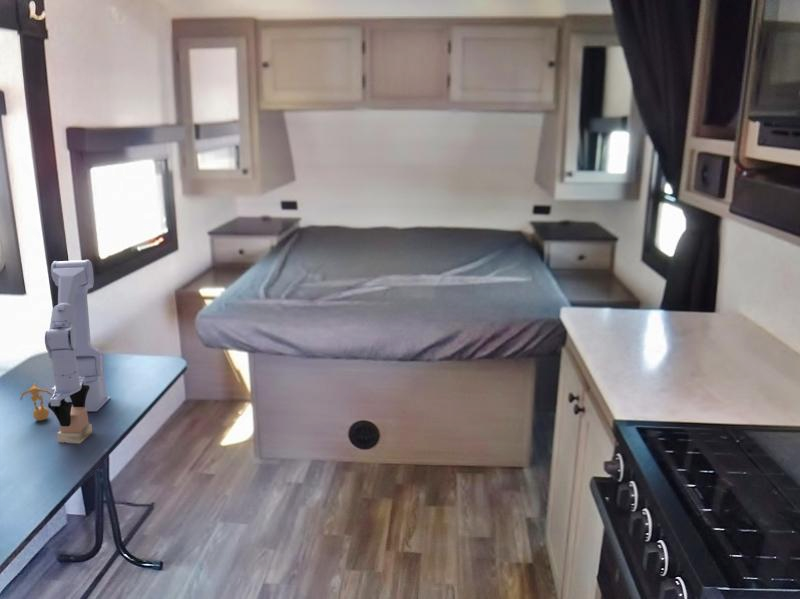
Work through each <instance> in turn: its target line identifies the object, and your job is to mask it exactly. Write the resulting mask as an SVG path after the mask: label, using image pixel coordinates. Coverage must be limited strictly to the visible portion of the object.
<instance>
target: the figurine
mask: <svg viewBox="0 0 800 599" xmlns="http://www.w3.org/2000/svg"><path fill="white" fill-rule="evenodd" d="M40 392H42V393H47V394H49V395H50V396H52V397H53V394H52V393H51V392H49V390H47V389H42V388H39V387H38V385H37V384H36V383H32V386H31V388H30V389H27V390H25V391H24V392H22V393H21V396H20V398H19V399H20V400H19V401H20V402H22V401H23V397H24V395H26V394H29V393H30V394H31V395H32V396H30V398H31V401H33V405H34V407H35V409H34V410H33V411H32V417H33V418H34V419H35V420H36V421H40V422H42V421H45V420H46V419H48V417H49V416H50V411H49V409H48V407H46V406H43V404H44V402H43V401H44V398H43V396H42V395H41V394H40ZM37 400H38V401H40V403H39V404H40V405H39V406H38V405H37Z"/></svg>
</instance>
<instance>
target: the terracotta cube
mask: <svg viewBox="0 0 800 599" xmlns="http://www.w3.org/2000/svg"><path fill="white" fill-rule="evenodd" d="M70 416H71V423H70V426H61V425H60V424H59V426H60V427H59V428H60V430H61V433H72V432H81V431H82V430H83V429H84V428H85V427H86V426H87V425H88V424H90V423H89V417H88V411H87V408H86V407H73V406H72V407H71V413H70Z"/></svg>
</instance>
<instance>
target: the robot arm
mask: <svg viewBox="0 0 800 599" xmlns="http://www.w3.org/2000/svg"><path fill="white" fill-rule="evenodd" d="M50 273H51V274H50V275H51V278H52V281H53V282H54V285H55V286H56V287H57V288H58V289H57V291H58V292H57V305H55V306H54V307H52V310H51V318H50V323H49V324H50V325H49V330H46V331H45V333H44V345H45V348H46V351H47V355H48V358H49V359H50V361H51V365H52V373H53V380H54V386H53V387H52V388H51V392H53V394H52V395H53V396H52V397H51V398H50V399H49V400H50V401H49V402H47V408H49V409H50V410H51V411H52V412H53V413H54V415H55V417H56V419H57V420H58V422H59V426H60V425H61V426H70V423H71V416H70V413H71V407H86V408H87V412H98V411H99V410H100V409H101V408H102V407H103V406H104V405H105V404H106V403H107V402H108V401H109V400H110V399H111V396H108V392H107V385H106V379H105V377H104V375H103V374H104V370H105V364H104V358H103V352H102V351H101V349H99V348H97V347H96V346H93V345H92V344H91V331H90V319H89V318H90V317H89V304H88V292H89V290H90V289H92V288H93V287H94V282H95V280H94V269H93V264H92V262H91V261H90V260H89V259H84V260H83V259H82V260H63V261H61V260H60V261H58V260H54V261H53V262H52V263H51V266H50ZM68 397H69V398H70V401H67V400H66V398H68Z"/></svg>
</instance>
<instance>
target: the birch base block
mask: <svg viewBox="0 0 800 599" xmlns="http://www.w3.org/2000/svg"><path fill="white" fill-rule="evenodd" d="M92 434H93V426H92V423H89V424H88V425H87V426H86V427H85V428H84V429H83V430H82V431H81V432H72V433H61V429H60V430H59V431H58V432H57V433H56V435H57V442H58V443H64V442H66V443H67V444H82V443H83V441H85V439H87V438H88V437H89V436H90V435H92Z"/></svg>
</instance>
